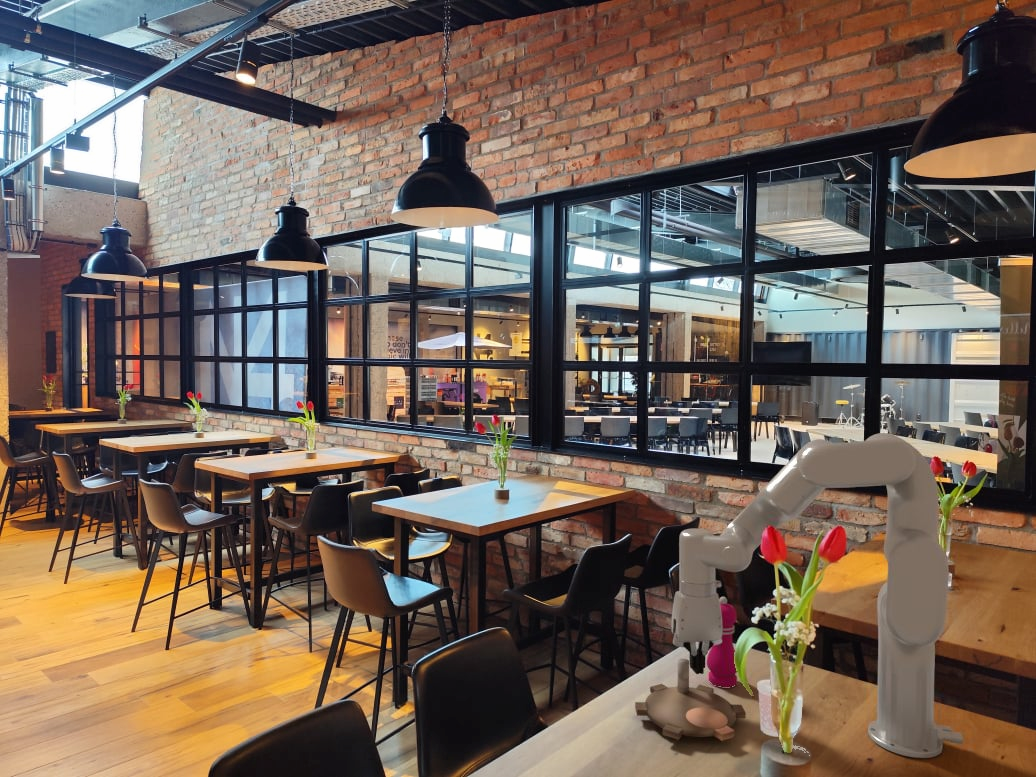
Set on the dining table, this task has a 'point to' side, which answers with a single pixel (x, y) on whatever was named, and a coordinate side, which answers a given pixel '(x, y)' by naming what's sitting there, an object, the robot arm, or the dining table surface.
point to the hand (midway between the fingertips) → (697, 671)
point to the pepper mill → (723, 650)
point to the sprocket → (690, 709)
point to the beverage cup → (765, 707)
